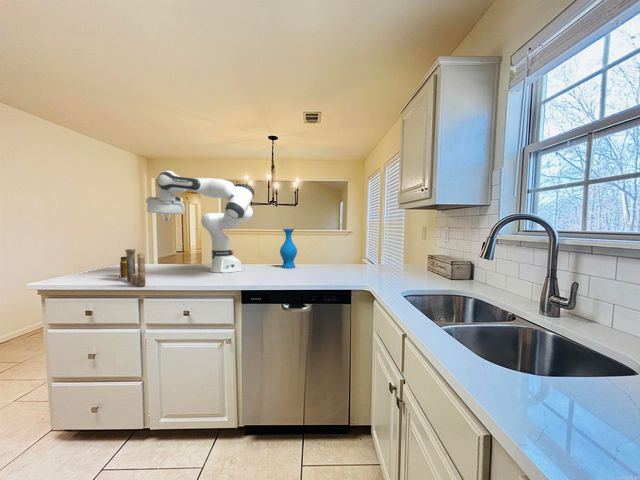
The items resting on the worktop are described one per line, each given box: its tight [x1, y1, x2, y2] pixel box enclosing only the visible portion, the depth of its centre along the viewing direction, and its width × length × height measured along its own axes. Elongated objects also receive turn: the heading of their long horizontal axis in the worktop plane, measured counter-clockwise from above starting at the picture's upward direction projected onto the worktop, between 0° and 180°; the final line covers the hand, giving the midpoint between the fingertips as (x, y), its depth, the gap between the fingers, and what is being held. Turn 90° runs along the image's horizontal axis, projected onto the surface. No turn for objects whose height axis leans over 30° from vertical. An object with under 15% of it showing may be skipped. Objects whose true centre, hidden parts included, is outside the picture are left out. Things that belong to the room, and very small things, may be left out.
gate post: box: [125, 248, 136, 282], centre depth 158 cm, size 4×4×17 cm
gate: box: [128, 252, 146, 287], centre depth 149 cm, size 21×3×17 cm, turn 48°
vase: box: [279, 228, 298, 269], centre depth 206 cm, size 12×13×28 cm
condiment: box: [115, 255, 127, 278], centre depth 167 cm, size 7×8×12 cm
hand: (166, 220), depth 170 cm, fingers closed
